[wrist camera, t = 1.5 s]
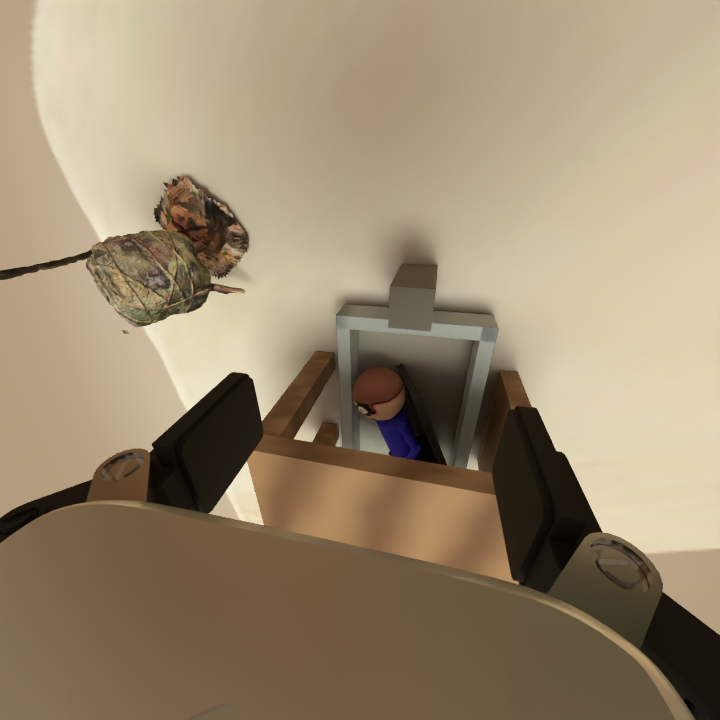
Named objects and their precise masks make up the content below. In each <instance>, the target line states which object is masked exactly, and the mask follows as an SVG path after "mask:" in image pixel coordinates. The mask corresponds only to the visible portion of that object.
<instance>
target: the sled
mask: <svg viewBox="0 0 720 720" xmlns="http://www.w3.org/2000/svg"><path fill="white" fill-rule="evenodd" d="M437 266H438V265H414V264H402V265H401V267H400V268H399V270H398V272H397V274H396V276H395V278H394V280H393V282H392V284H391V285H390V296H389V307H376V306H362V305H348V304H345V305H344V306H343V308H342V309H341V310H340V311H339V312H338V314H337V315H336V325H337V346H338V366H339V386H340V407H341V427H342V448H347V449H353V450H359V410H358V409H357V407H356V405H355V403H354V400H353V387H354V384H355V382H356V380H357V378H358V330H364V331H375V332H386V333H398V334H409V335H420V336H431V337H443V338H454V339H465V340H474V342H473V347H472V352H471V358H470V363H469V368H468V373H467V379H466V384H465V389H464V394H463V399H462V405H461V410H460V415H459V420H458V425H457V431H456V436H455V441H454V446H453V452H452V457H451V462H450V466H453V467H459V468H464V469H466V467H467V463H468V459H469V454H470V450H471V446H472V441H473V437H474V433H475V428H476V424H477V420H478V415H479V411H480V407H481V402H482V398H483V394H484V389H485V385H486V381H487V376H488V372H489V368H490V363H491V359H492V355H493V350H494V346H495V342H496V337H497V333H498V329H499V328H498V326H497V323H496V321H495V318H494V315H487V314H473V313H459V312H445V311H433V308H434V300H435V291H436V279H437Z"/></svg>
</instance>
